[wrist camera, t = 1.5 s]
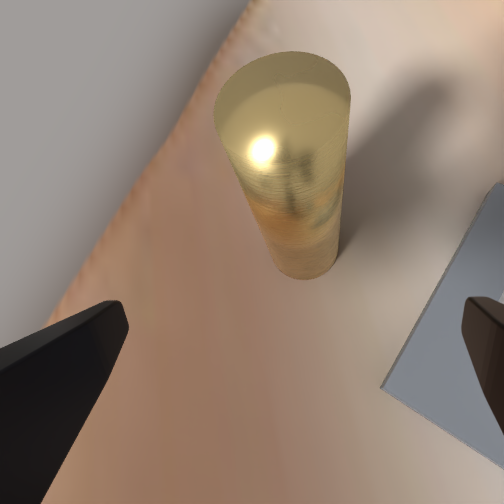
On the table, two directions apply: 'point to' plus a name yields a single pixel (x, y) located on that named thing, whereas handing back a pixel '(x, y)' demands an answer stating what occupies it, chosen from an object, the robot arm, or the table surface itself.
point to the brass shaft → (289, 154)
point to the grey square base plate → (456, 339)
